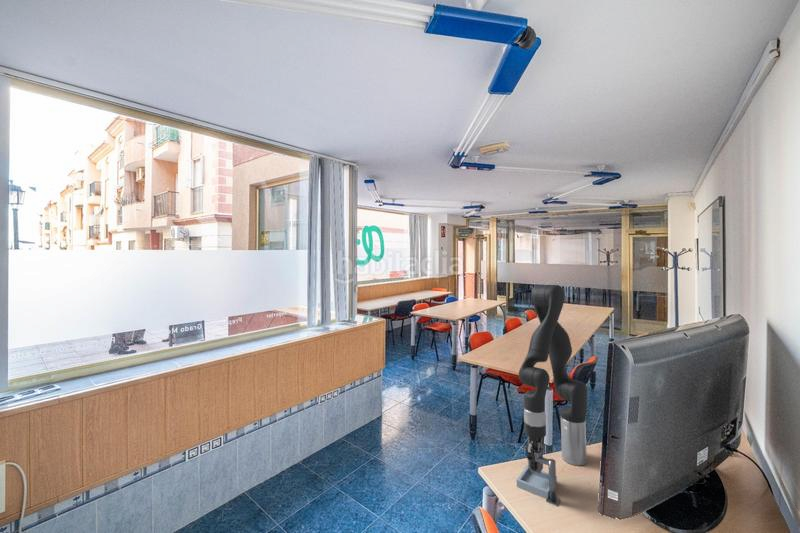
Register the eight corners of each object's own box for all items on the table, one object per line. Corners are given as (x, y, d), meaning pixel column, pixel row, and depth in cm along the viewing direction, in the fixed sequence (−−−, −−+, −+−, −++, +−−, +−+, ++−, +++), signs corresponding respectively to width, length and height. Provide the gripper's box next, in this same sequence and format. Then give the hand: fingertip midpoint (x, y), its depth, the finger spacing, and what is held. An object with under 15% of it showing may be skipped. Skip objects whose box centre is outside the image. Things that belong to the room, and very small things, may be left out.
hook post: (538, 491, 119) (537, 448, 119) (560, 500, 114) (558, 456, 114) (534, 496, 116) (533, 453, 116) (557, 506, 112) (555, 461, 111)
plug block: (532, 464, 125) (531, 440, 125) (543, 468, 123) (542, 444, 123) (528, 469, 122) (527, 445, 122) (539, 473, 120) (539, 448, 120)
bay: (527, 471, 130) (526, 465, 130) (556, 482, 123) (556, 476, 123) (516, 486, 122) (516, 479, 122) (548, 499, 115) (547, 492, 115)
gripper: (531, 411, 130) (532, 454, 130) (517, 425, 119) (518, 472, 120) (551, 416, 125) (552, 461, 125) (539, 431, 114) (540, 480, 115)
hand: (535, 466), depth 122 cm, fingers closed on plug block, 4 cm apart
